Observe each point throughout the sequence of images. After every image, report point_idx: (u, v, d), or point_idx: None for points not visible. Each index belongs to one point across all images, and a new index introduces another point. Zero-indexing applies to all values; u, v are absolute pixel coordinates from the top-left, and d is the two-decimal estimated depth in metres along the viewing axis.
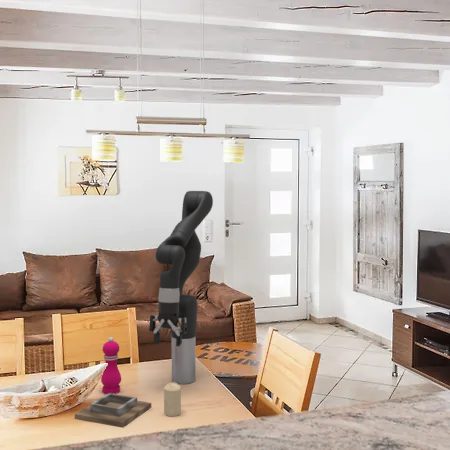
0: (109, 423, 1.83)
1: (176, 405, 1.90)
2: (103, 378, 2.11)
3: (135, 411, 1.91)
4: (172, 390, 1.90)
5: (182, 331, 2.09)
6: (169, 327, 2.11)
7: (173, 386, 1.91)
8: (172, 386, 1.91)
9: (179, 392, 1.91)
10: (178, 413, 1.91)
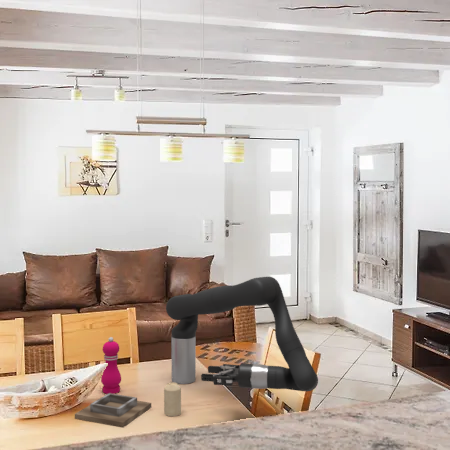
0: (109, 423, 1.83)
1: (176, 405, 1.90)
2: (103, 378, 2.11)
3: (135, 411, 1.91)
4: (172, 390, 1.90)
5: None
6: None
7: (173, 386, 1.91)
8: (172, 386, 1.91)
9: (179, 392, 1.91)
10: (178, 413, 1.91)
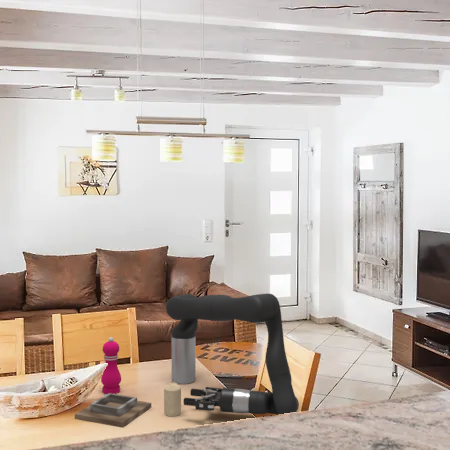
0: (109, 423, 1.83)
1: (176, 405, 1.90)
2: (103, 378, 2.11)
3: (135, 411, 1.91)
4: (171, 390, 1.90)
5: None
6: None
7: (173, 386, 1.91)
8: (172, 386, 1.91)
9: (179, 392, 1.91)
10: (178, 413, 1.91)
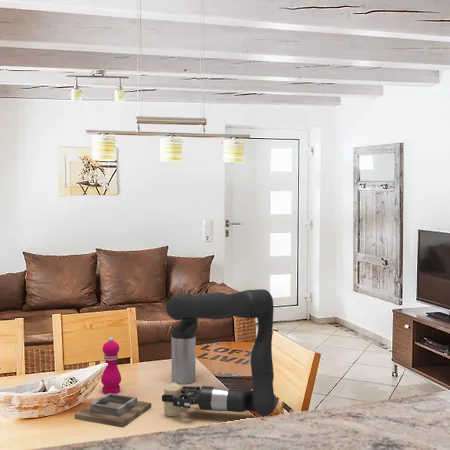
0: (109, 423, 1.83)
1: None
2: (103, 378, 2.11)
3: (135, 411, 1.91)
4: (171, 390, 1.90)
5: None
6: None
7: (173, 386, 1.91)
8: (172, 386, 1.91)
9: (179, 392, 1.91)
10: (178, 413, 1.91)
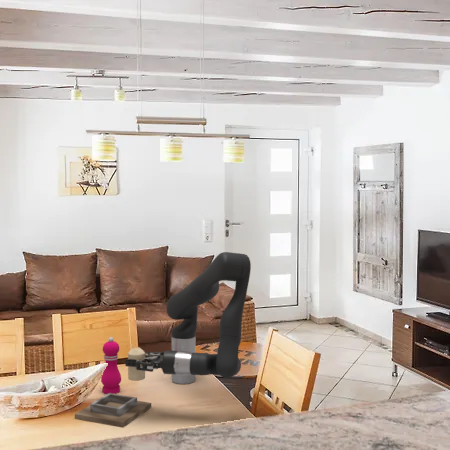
0: (109, 423, 1.83)
1: None
2: (103, 378, 2.11)
3: (135, 411, 1.91)
4: (135, 354, 1.89)
5: None
6: None
7: (137, 351, 1.90)
8: (136, 350, 1.90)
9: (143, 357, 1.90)
10: (142, 378, 1.91)
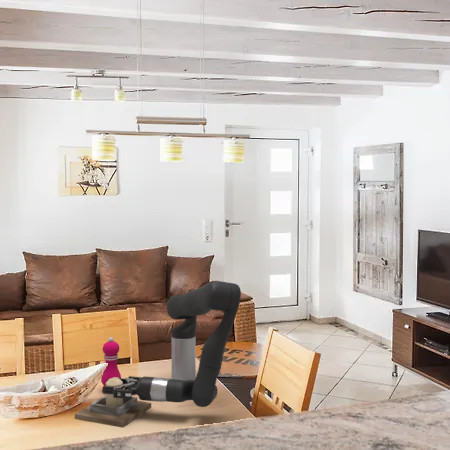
0: (109, 423, 1.83)
1: (117, 400, 1.91)
2: (103, 378, 2.11)
3: (135, 411, 1.91)
4: (112, 385, 1.90)
5: None
6: None
7: (114, 381, 1.91)
8: (113, 381, 1.91)
9: None
10: None
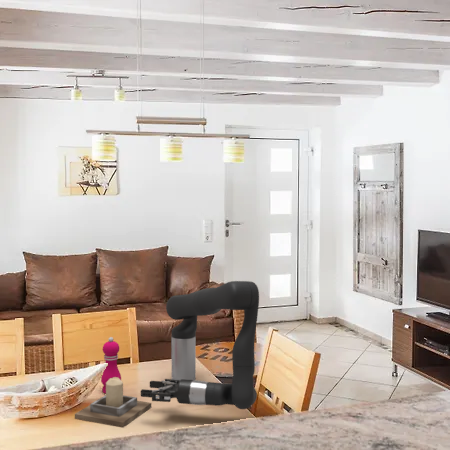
0: (109, 423, 1.83)
1: (117, 399, 1.91)
2: (103, 378, 2.11)
3: (135, 411, 1.91)
4: (113, 384, 1.90)
5: None
6: None
7: (114, 381, 1.91)
8: (113, 381, 1.91)
9: (121, 387, 1.91)
10: None
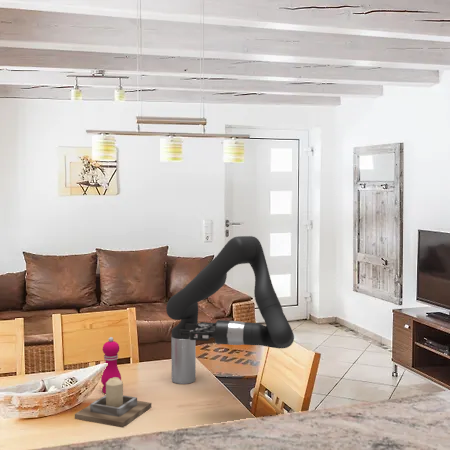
0: (109, 423, 1.83)
1: (117, 399, 1.91)
2: (103, 378, 2.11)
3: (135, 411, 1.91)
4: (113, 385, 1.90)
5: None
6: None
7: (114, 381, 1.91)
8: (113, 381, 1.91)
9: (121, 387, 1.91)
10: None
